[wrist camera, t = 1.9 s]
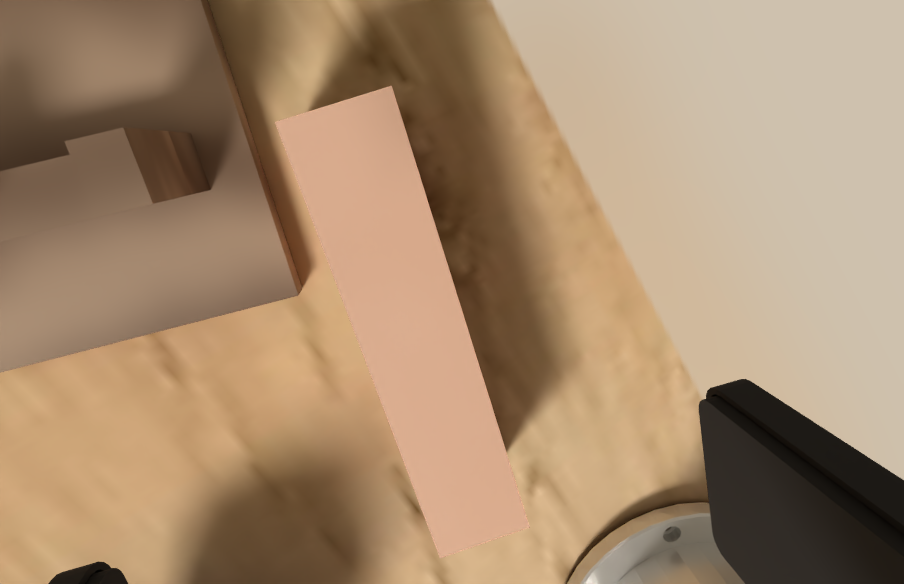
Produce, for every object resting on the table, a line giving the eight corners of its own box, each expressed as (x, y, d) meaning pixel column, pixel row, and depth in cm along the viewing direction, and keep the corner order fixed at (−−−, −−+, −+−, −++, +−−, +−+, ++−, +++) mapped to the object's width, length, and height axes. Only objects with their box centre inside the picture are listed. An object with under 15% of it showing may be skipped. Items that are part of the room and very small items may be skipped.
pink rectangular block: (502, 454, 25) (530, 527, 20) (429, 478, 25) (440, 558, 20) (390, 100, 20) (391, 85, 16) (301, 128, 20) (274, 122, 15)
